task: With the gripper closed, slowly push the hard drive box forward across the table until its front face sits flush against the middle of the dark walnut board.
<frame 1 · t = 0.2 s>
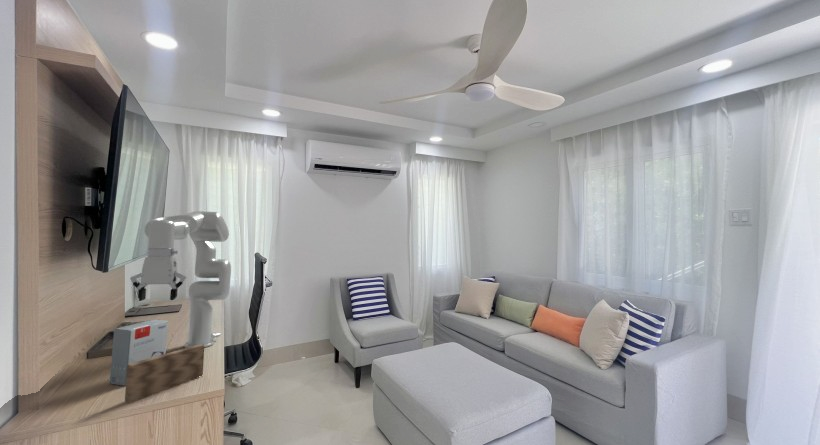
hand: (157, 299, 120), 31 cm above the table, tool pointing down, fingers open, 9 cm apart
hard drive box: (138, 377, 126), on the table
walnut board: (167, 387, 117), on the table
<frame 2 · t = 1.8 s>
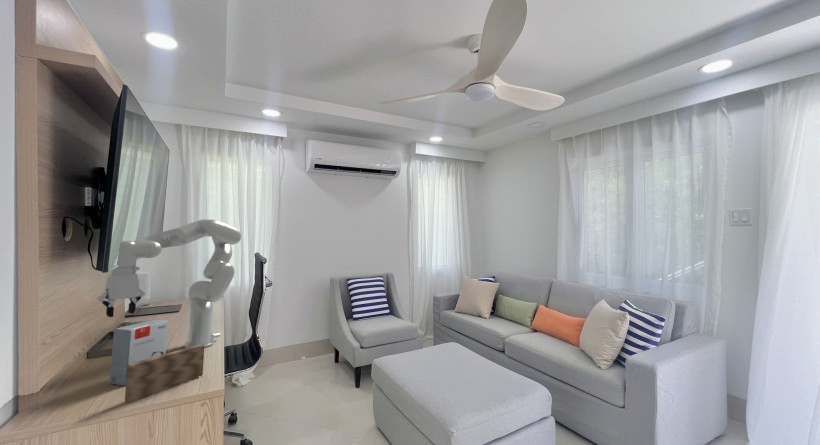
hand: (120, 314, 133), 22 cm above the table, tool pointing down, fingers open, 6 cm apart
nothing on the table moved.
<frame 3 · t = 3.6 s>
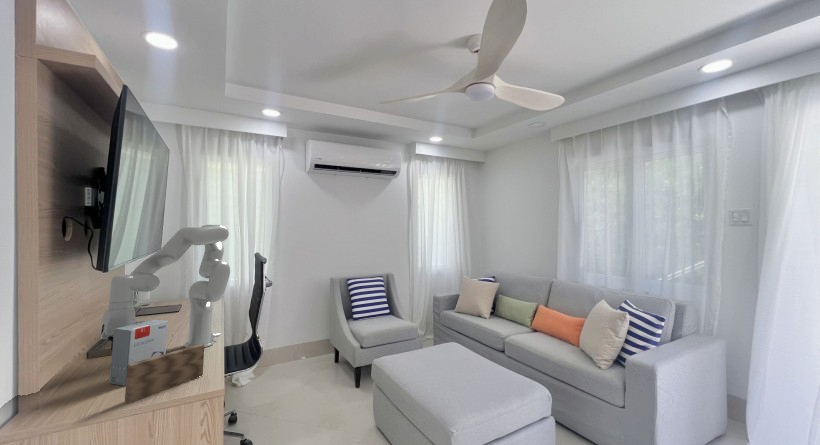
hand: (116, 351, 132), 7 cm above the table, tool pointing down, fingers closed
nothing on the table moved.
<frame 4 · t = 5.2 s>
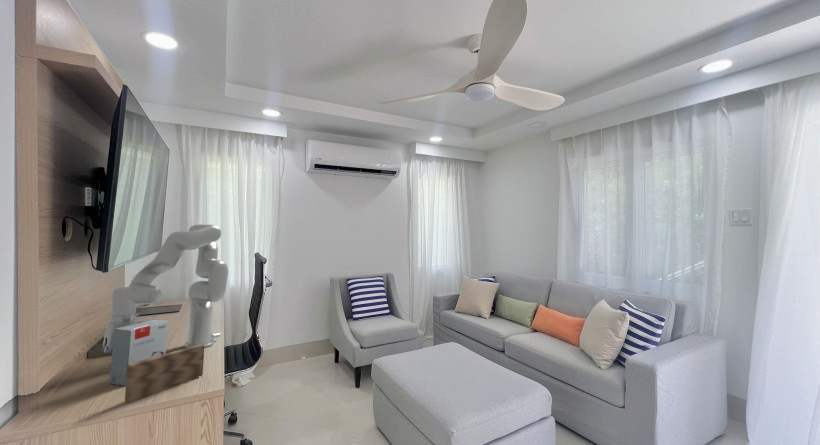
hand: (120, 363, 132), 2 cm above the table, tool pointing down, fingers closed
nothing on the table moved.
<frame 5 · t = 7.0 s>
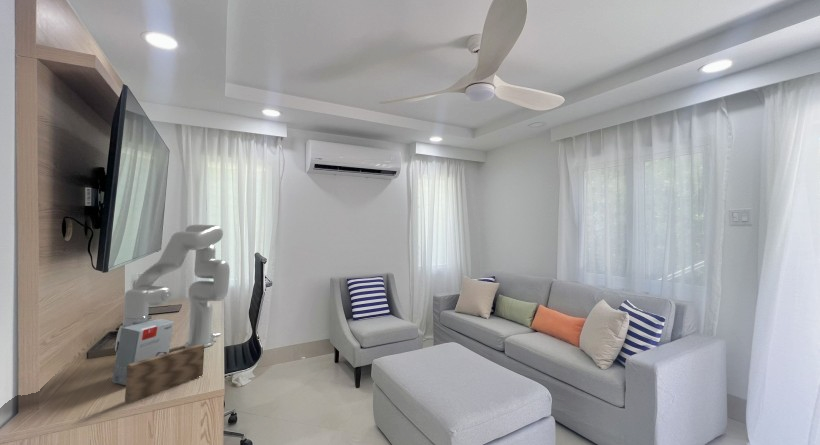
hand: (132, 368, 127), 2 cm above the table, tool pointing down, fingers closed
hard drive box: (140, 376, 125), on the table, touching arm, gripper
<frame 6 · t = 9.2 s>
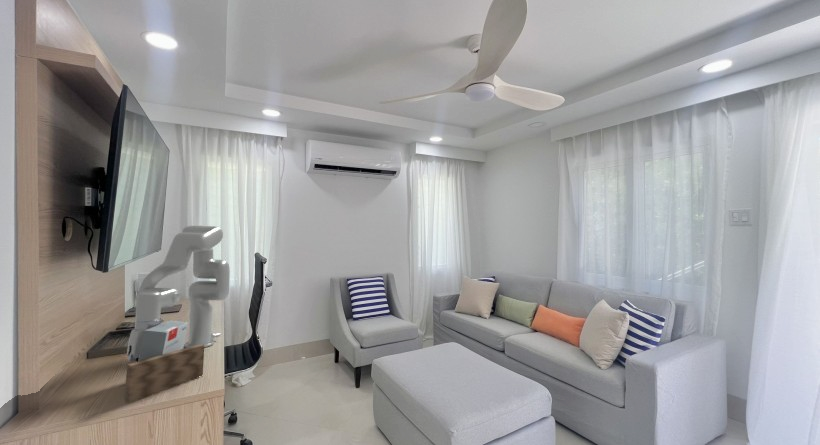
hand: (144, 373, 124), 2 cm above the table, tool pointing down, fingers closed
hard drive box: (157, 379, 123), on the table, touching gripper
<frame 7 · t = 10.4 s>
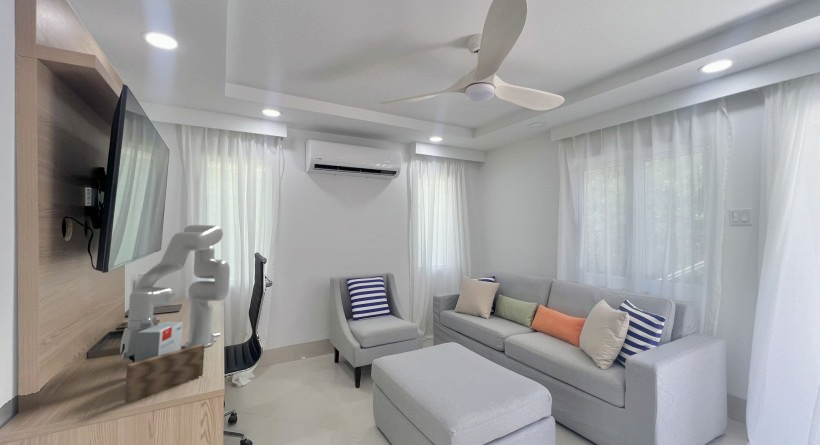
hand: (137, 370, 126), 2 cm above the table, tool pointing down, fingers closed
hard drive box: (157, 380, 123), on the table
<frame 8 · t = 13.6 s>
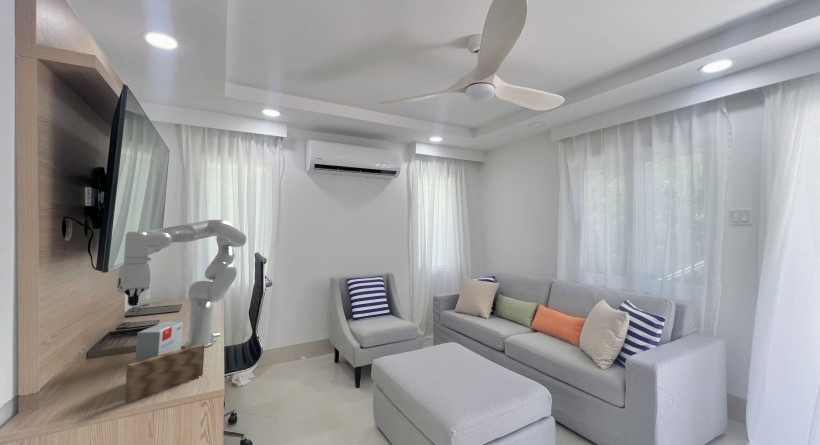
hand: (132, 305, 135), 25 cm above the table, tool pointing down, fingers closed
nothing on the table moved.
at the end: hard drive box 1.9 cm from the target spot on the table beside the walnut board, on the table; hard drive box tilted 0° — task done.
